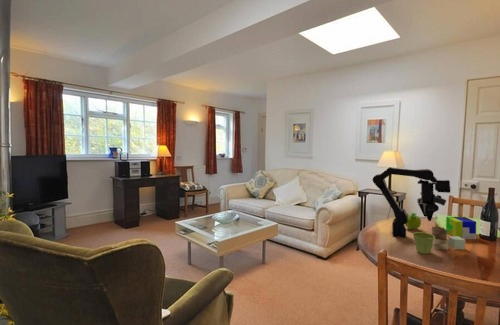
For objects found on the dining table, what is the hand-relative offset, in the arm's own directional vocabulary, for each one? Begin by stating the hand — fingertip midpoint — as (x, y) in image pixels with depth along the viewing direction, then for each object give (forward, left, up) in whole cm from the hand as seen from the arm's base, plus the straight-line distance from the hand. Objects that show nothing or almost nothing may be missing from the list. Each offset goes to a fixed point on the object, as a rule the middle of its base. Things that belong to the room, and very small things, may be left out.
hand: (427, 218), depth 147 cm
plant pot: (-6, -20, -12) cm, 24 cm away
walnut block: (+3, -11, -7) cm, 13 cm away
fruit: (-4, +18, -12) cm, 22 cm away
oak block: (+3, -11, -12) cm, 17 cm away
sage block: (+11, -9, -12) cm, 19 cm away
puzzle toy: (+19, +11, -12) cm, 25 cm away
